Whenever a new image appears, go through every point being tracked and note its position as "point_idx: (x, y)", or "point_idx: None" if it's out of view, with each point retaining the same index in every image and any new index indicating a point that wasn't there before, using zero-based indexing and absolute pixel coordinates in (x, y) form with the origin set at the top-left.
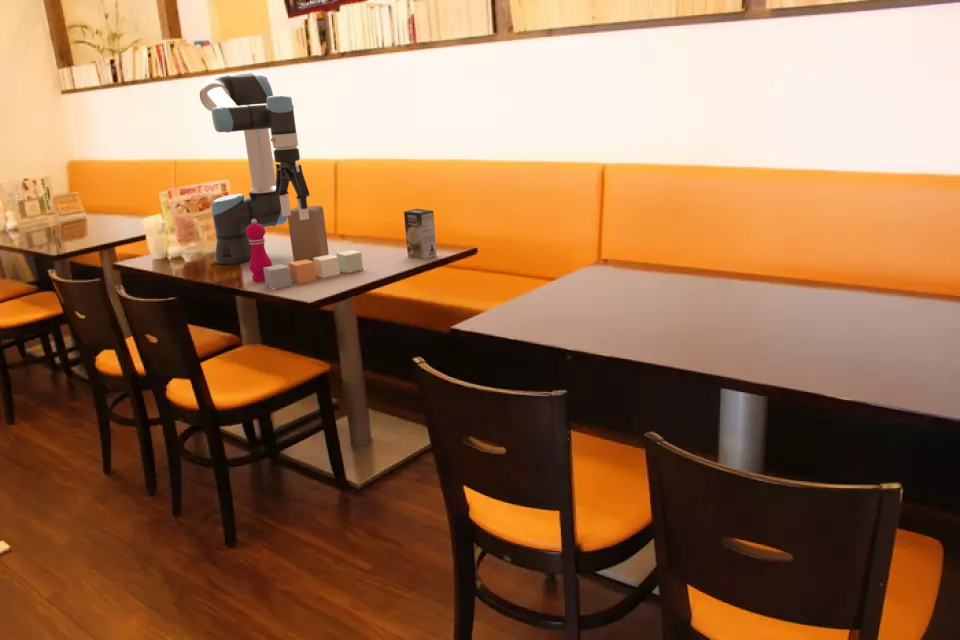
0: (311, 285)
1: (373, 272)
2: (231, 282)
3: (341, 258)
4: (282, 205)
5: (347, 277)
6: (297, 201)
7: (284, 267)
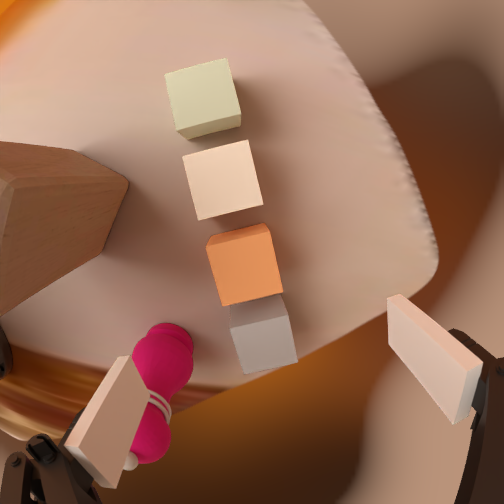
0: (317, 247)
1: (281, 64)
2: None
3: (212, 124)
4: (130, 435)
5: (293, 138)
6: (444, 411)
7: (284, 326)
